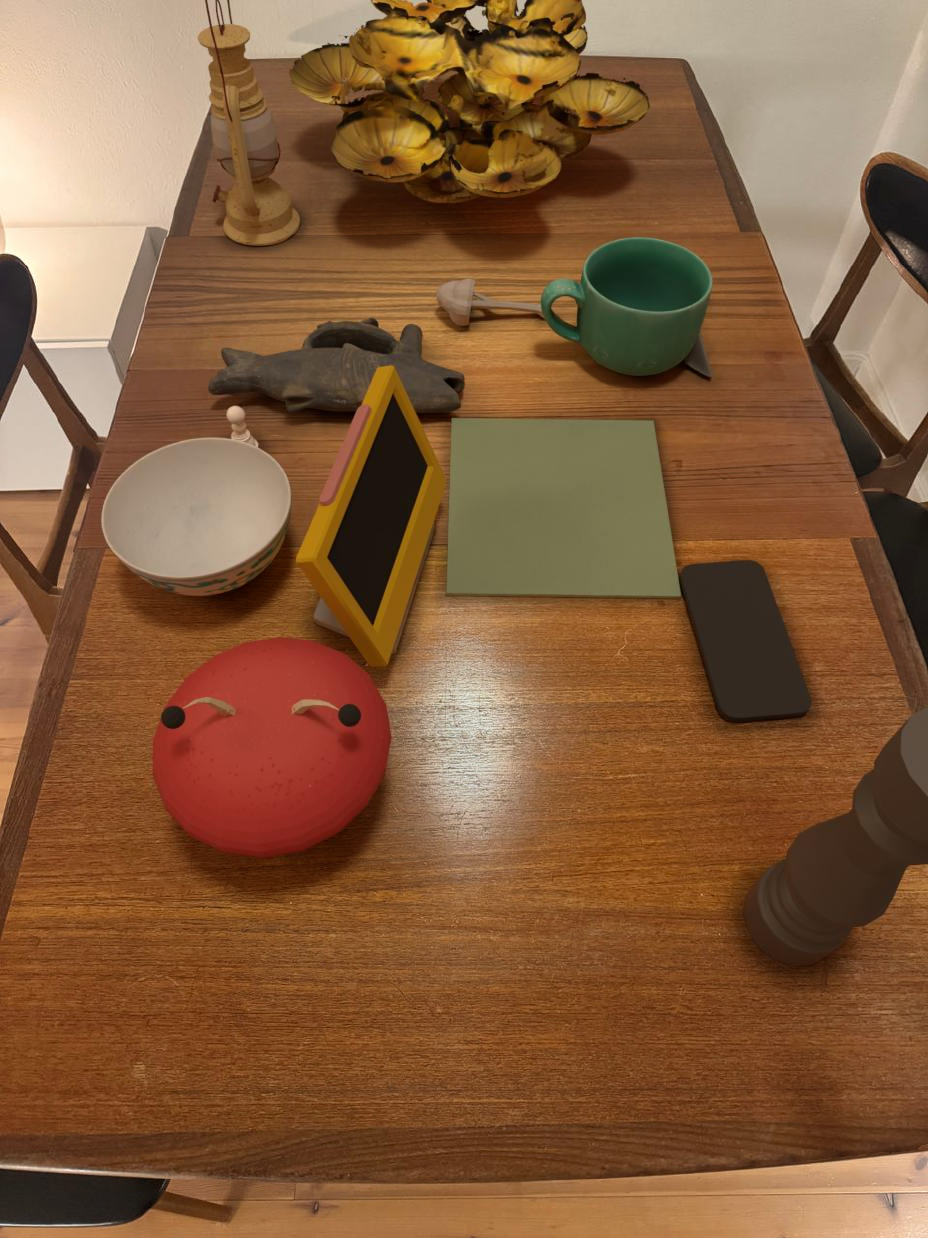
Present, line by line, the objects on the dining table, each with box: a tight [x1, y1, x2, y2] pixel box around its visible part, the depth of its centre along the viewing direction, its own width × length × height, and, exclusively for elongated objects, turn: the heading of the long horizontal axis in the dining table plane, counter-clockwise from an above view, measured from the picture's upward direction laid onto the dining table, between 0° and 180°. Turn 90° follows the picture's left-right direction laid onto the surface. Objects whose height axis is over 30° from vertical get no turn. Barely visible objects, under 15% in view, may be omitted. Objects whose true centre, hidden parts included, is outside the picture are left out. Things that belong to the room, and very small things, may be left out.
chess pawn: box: [225, 405, 259, 448], centre depth 82 cm, size 3×3×5 cm
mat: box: [445, 417, 682, 600], centre depth 80 cm, size 20×22×1 cm
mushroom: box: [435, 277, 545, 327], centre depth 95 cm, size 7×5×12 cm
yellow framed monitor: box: [295, 365, 448, 668], centre depth 69 cm, size 20×8×16 cm, turn 167°
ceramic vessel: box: [207, 317, 466, 414], centre depth 88 cm, size 5×25×15 cm
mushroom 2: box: [152, 636, 393, 859], centre depth 58 cm, size 16×16×15 cm
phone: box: [679, 559, 812, 723], centre depth 72 cm, size 7×1×15 cm
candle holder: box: [742, 706, 928, 967], centre depth 49 cm, size 6×6×25 cm
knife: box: [682, 331, 713, 379], centre depth 94 cm, size 14×4×1 cm, turn 1°
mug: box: [540, 236, 714, 377], centre depth 89 cm, size 17×13×10 cm
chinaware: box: [100, 437, 293, 597], centre depth 73 cm, size 15×15×8 cm
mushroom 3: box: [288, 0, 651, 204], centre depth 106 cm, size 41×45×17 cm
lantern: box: [197, 0, 301, 247], centre depth 94 cm, size 12×10×30 cm
